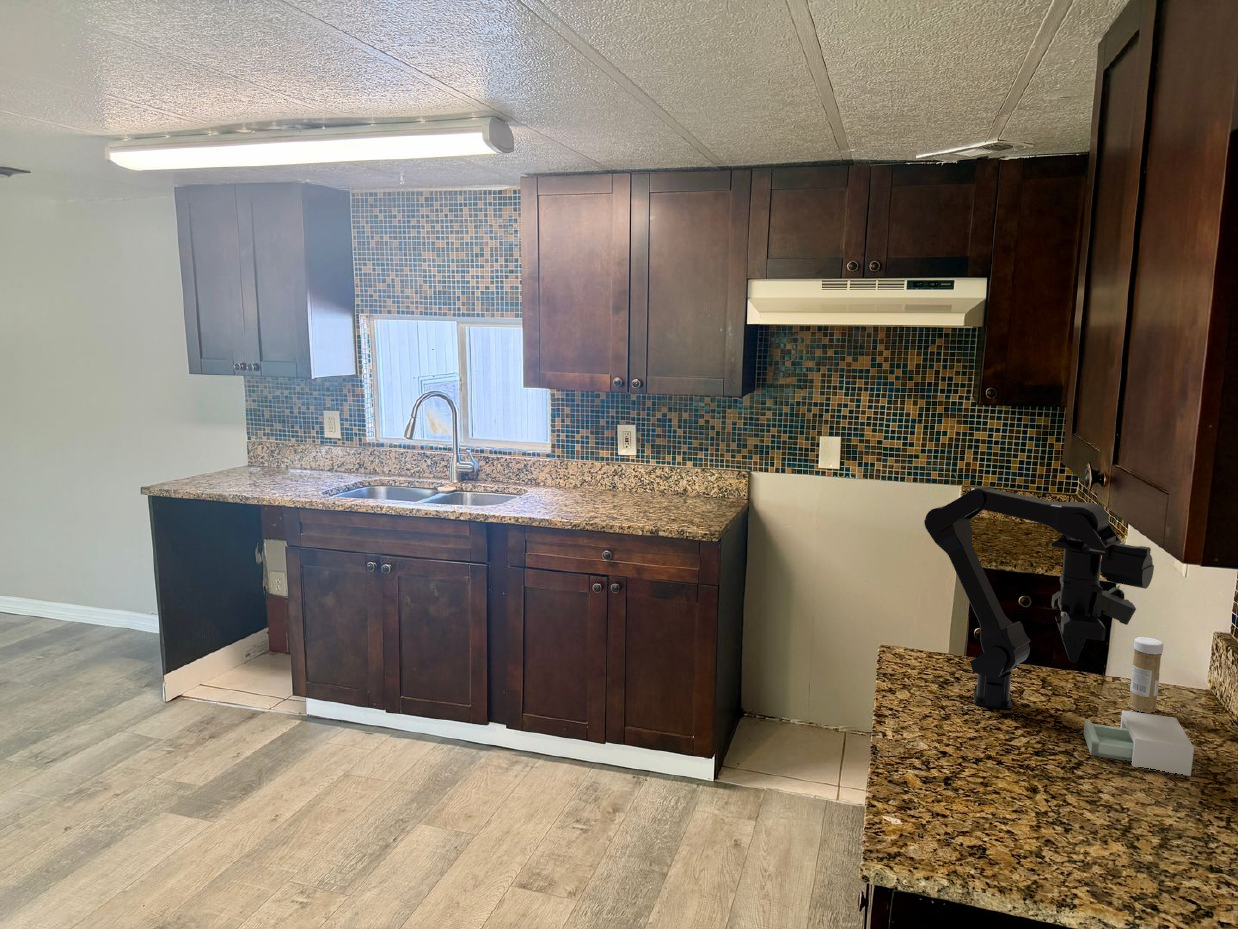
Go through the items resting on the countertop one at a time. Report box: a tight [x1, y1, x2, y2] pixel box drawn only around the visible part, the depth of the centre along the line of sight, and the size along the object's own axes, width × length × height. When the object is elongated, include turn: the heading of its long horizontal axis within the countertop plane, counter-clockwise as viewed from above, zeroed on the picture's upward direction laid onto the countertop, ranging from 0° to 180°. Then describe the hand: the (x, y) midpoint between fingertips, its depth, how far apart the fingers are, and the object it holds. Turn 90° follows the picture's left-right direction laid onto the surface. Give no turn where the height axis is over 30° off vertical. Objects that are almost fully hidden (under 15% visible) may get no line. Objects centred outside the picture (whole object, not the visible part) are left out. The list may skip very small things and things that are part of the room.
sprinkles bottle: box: [1128, 636, 1164, 714], centre depth 157 cm, size 5×5×13 cm
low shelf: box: [1119, 710, 1195, 777], centre depth 140 cm, size 11×8×5 cm
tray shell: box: [1083, 720, 1134, 762], centre depth 142 cm, size 8×12×3 cm, turn 69°
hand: (1072, 661), depth 150 cm, fingers closed
